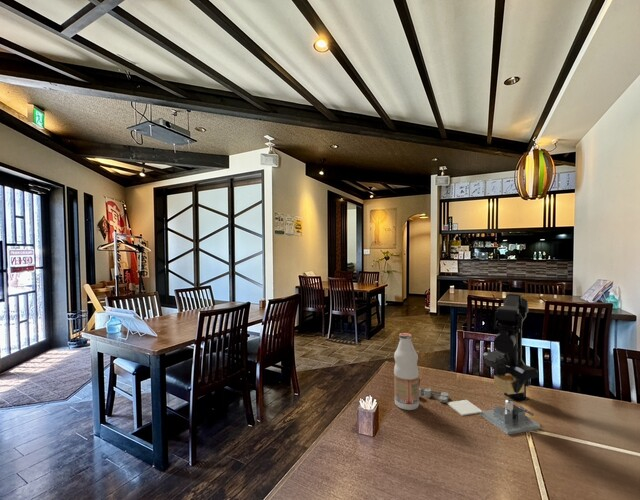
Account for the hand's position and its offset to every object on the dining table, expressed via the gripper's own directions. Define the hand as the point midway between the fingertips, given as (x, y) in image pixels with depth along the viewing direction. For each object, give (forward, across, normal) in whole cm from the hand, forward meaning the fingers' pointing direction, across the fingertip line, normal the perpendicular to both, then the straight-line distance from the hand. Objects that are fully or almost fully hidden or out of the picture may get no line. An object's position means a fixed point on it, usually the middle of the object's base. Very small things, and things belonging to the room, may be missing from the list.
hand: (508, 388), depth 108 cm
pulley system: (+13, -30, -18) cm, 37 cm away
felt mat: (+12, -12, -9) cm, 19 cm away
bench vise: (+12, 0, 0) cm, 12 cm away
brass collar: (0, 0, 0) cm, 0 cm away
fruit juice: (+12, -20, -29) cm, 37 cm away
